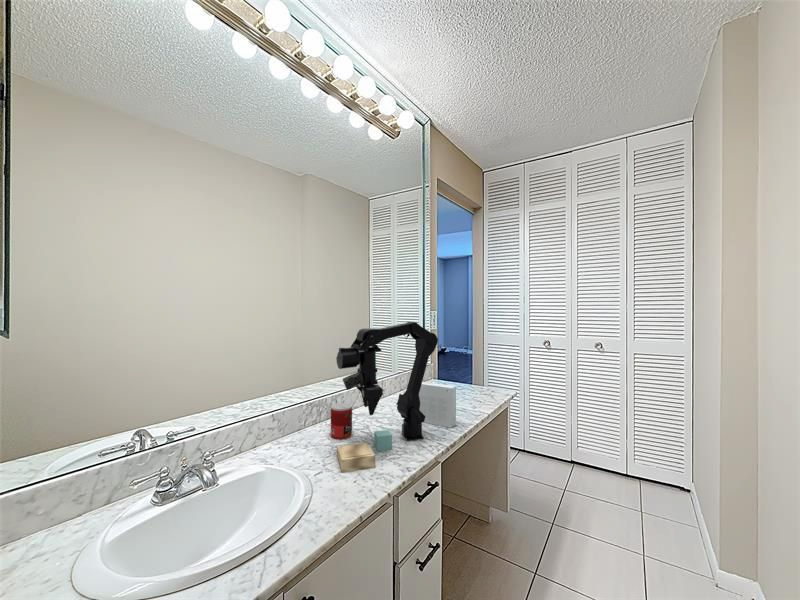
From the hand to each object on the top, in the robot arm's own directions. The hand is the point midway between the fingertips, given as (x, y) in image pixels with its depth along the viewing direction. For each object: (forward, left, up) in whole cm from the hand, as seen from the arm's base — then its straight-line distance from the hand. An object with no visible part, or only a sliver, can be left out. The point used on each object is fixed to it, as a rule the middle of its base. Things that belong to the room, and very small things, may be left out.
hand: (368, 410), depth 115 cm
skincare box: (-31, -17, -13) cm, 37 cm away
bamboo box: (+6, +10, -13) cm, 17 cm away
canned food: (+7, -13, -13) cm, 19 cm away
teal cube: (-5, +2, -12) cm, 13 cm away
